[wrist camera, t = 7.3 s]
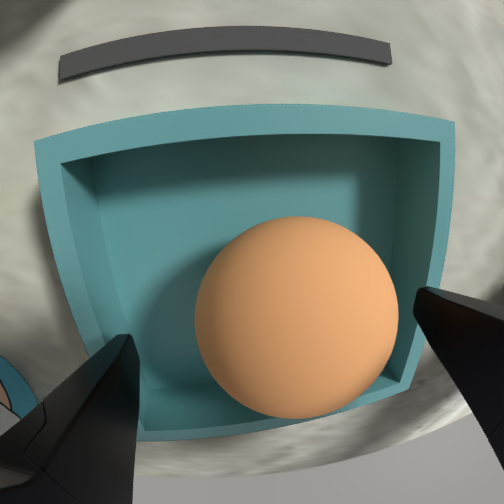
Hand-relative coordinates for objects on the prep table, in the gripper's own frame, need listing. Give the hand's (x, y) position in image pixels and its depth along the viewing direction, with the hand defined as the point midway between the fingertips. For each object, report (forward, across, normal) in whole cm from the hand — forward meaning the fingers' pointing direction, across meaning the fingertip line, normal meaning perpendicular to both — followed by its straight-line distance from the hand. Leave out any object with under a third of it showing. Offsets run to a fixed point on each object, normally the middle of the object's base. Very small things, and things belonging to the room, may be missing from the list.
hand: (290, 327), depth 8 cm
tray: (+4, 0, 0) cm, 4 cm away
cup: (+4, +17, +6) cm, 19 cm away
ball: (0, 0, 0) cm, 0 cm away
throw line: (+4, 0, -9) cm, 10 cm away
